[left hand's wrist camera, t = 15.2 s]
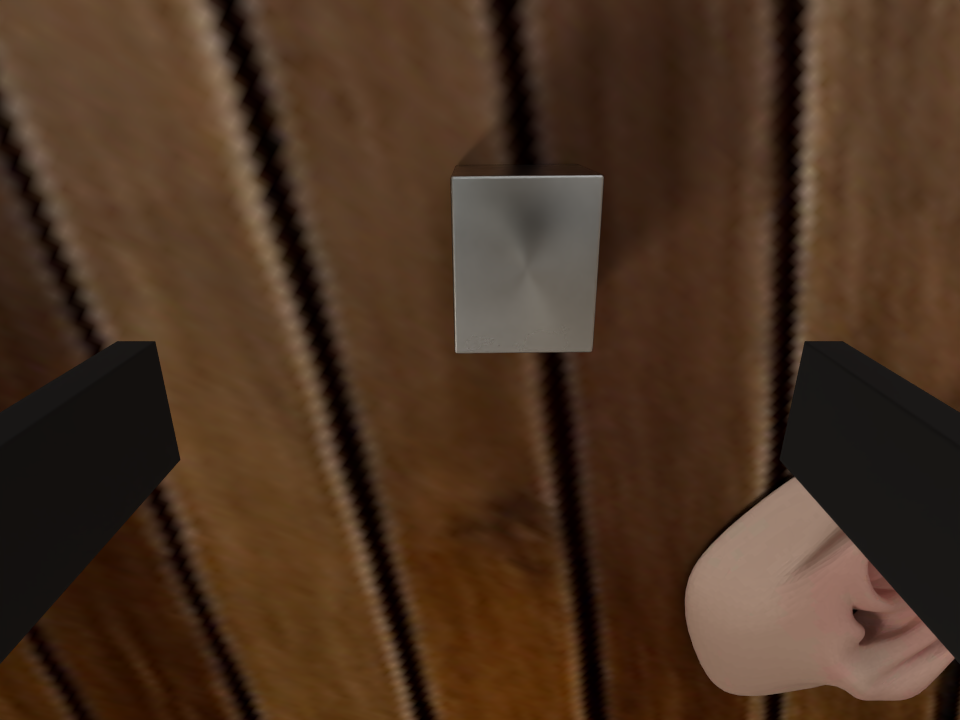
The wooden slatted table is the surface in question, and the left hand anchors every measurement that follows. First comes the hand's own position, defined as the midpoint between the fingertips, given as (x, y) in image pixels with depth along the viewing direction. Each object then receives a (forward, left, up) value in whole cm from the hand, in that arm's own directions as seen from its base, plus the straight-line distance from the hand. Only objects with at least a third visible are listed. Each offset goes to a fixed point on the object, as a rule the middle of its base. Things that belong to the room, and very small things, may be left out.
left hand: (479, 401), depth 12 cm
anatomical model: (+16, +12, -10) cm, 22 cm away
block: (-1, +2, -10) cm, 10 cm away
